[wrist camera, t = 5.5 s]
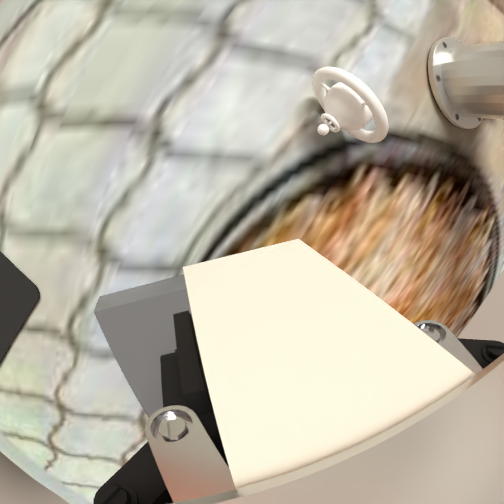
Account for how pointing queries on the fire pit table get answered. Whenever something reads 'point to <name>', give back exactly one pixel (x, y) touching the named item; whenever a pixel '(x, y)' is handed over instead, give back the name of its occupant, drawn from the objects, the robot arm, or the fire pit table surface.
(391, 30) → the fire pit table surface
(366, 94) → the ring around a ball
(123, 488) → the robot arm
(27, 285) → the phone
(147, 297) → the socket plate
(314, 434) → the plug
